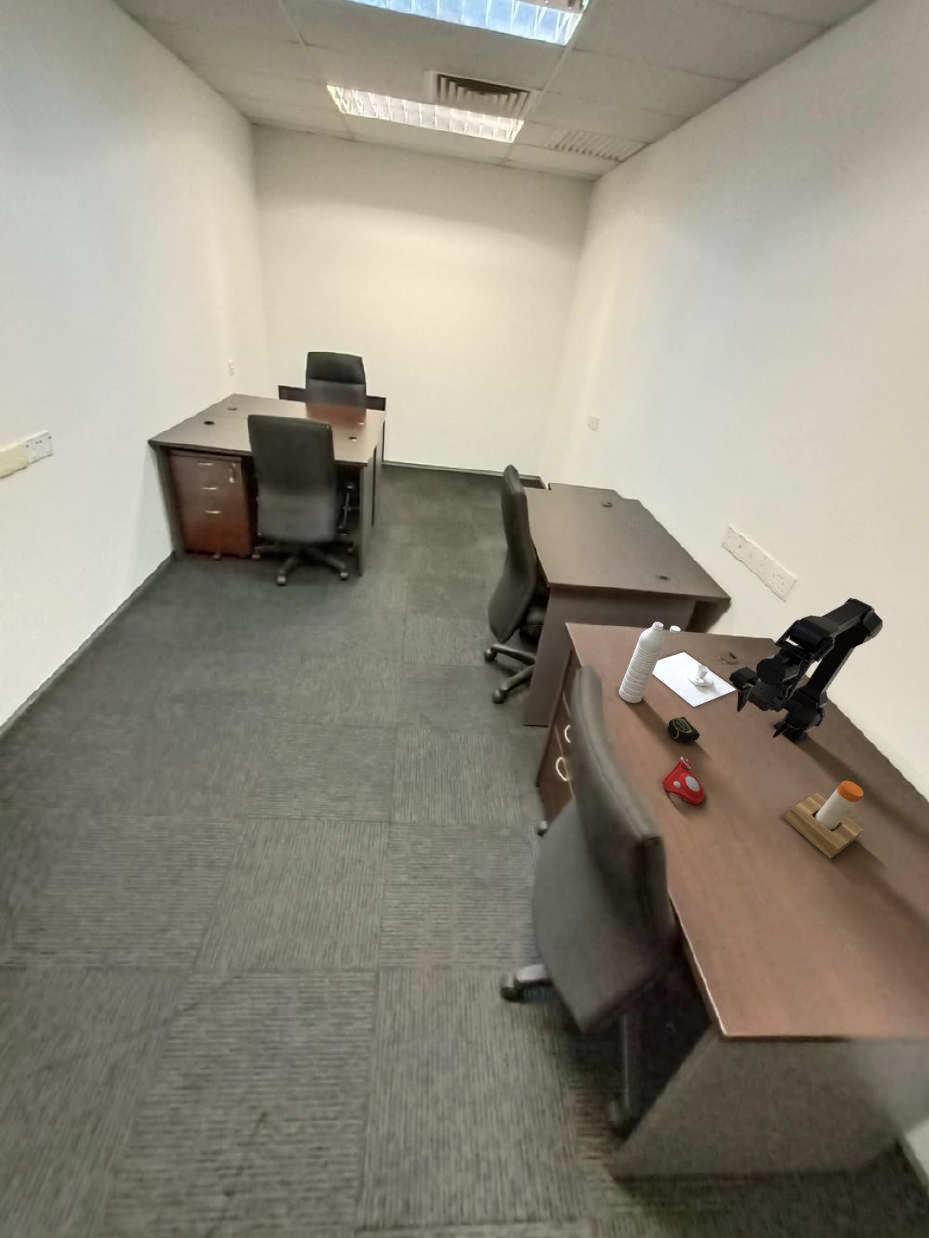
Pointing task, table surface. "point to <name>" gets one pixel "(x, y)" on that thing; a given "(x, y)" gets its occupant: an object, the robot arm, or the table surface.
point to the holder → (822, 826)
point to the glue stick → (839, 804)
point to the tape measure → (682, 730)
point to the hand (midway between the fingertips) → (755, 723)
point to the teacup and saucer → (690, 679)
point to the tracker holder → (684, 783)
